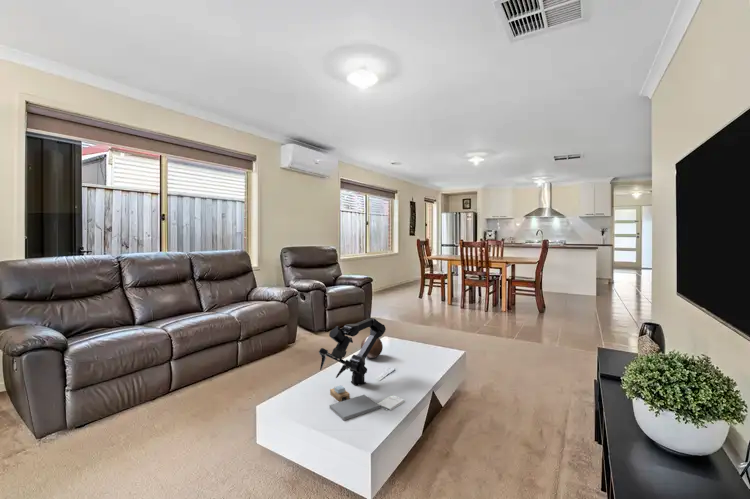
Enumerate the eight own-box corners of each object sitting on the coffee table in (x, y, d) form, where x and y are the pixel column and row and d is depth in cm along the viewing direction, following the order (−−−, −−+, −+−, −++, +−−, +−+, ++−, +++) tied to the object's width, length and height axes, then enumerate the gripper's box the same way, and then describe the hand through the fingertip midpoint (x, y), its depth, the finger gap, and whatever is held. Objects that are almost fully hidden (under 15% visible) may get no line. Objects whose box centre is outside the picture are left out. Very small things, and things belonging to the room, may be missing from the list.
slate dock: (364, 397, 179) (364, 394, 179) (379, 408, 167) (379, 405, 167) (329, 408, 167) (329, 405, 167) (343, 420, 156) (343, 417, 156)
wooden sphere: (358, 359, 234) (357, 338, 234) (365, 353, 248) (364, 332, 248) (379, 362, 230) (379, 339, 229) (385, 354, 244) (385, 333, 244)
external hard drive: (376, 406, 170) (391, 397, 179) (389, 412, 165) (404, 402, 174) (376, 403, 170) (391, 394, 179) (389, 408, 164) (404, 399, 174)
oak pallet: (340, 392, 185) (340, 386, 185) (349, 399, 177) (349, 393, 177) (330, 394, 182) (330, 389, 182) (339, 402, 174) (339, 396, 174)
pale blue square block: (341, 388, 182) (341, 385, 182) (344, 391, 179) (344, 387, 179) (334, 390, 180) (334, 387, 180) (338, 393, 177) (338, 389, 177)
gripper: (325, 335, 180) (310, 363, 173) (357, 350, 177) (344, 379, 170) (326, 340, 190) (312, 367, 183) (357, 355, 187) (344, 382, 180)
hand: (328, 374), depth 179 cm, fingers open, 9 cm apart
